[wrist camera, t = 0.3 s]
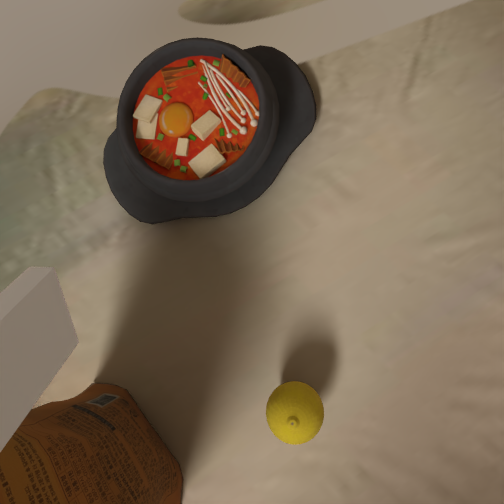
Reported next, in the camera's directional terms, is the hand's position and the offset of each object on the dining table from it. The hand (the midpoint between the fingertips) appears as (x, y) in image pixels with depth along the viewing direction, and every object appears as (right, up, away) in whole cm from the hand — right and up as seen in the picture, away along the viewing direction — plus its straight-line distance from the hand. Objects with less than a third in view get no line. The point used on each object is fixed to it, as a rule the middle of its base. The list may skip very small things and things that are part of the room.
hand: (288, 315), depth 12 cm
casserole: (-6, +14, +38) cm, 42 cm away
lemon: (+4, -14, +34) cm, 37 cm away
